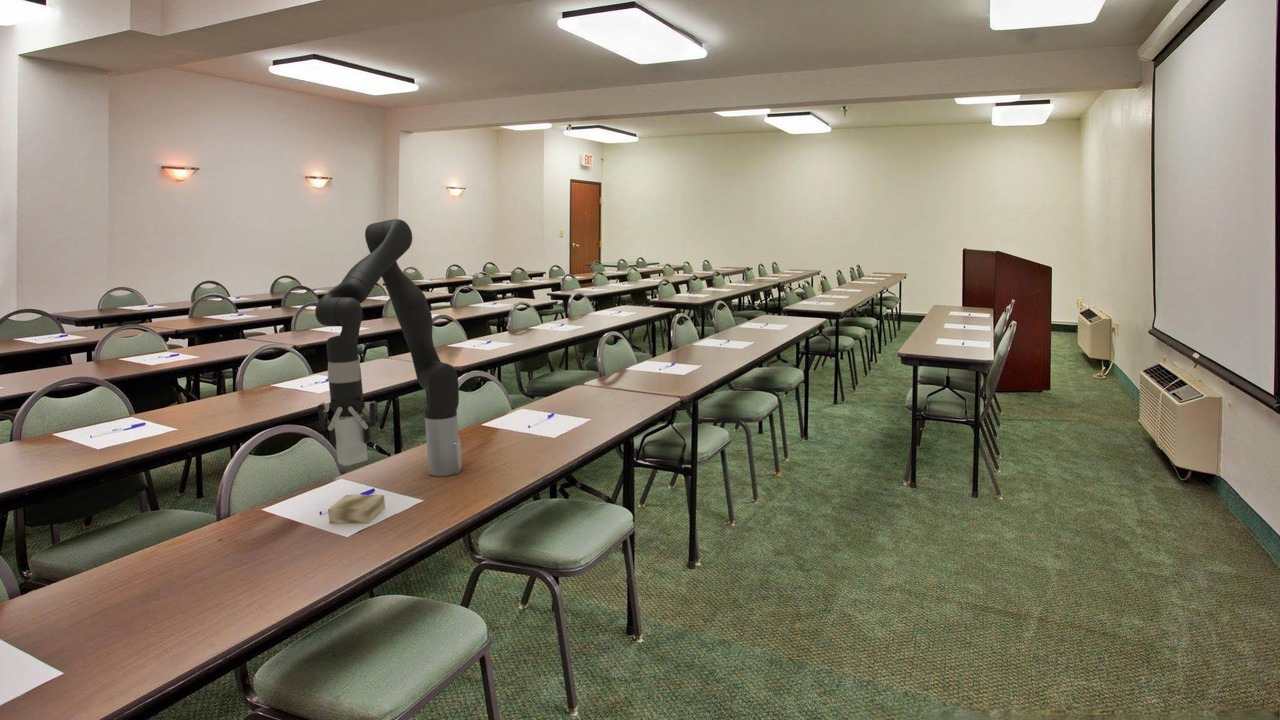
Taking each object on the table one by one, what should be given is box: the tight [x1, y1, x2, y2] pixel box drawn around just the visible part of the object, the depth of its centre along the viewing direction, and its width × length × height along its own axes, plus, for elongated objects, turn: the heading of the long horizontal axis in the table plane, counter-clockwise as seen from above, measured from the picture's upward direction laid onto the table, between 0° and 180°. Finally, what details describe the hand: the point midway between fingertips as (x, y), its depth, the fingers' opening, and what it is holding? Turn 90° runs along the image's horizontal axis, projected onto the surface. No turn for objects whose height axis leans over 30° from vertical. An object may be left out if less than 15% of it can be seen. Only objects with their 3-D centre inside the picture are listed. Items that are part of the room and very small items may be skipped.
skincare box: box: [334, 414, 369, 467], centre depth 182 cm, size 6×4×12 cm
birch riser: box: [327, 494, 386, 524], centre depth 186 cm, size 10×10×4 cm
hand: (351, 443), depth 183 cm, fingers closed on skincare box, 7 cm apart
